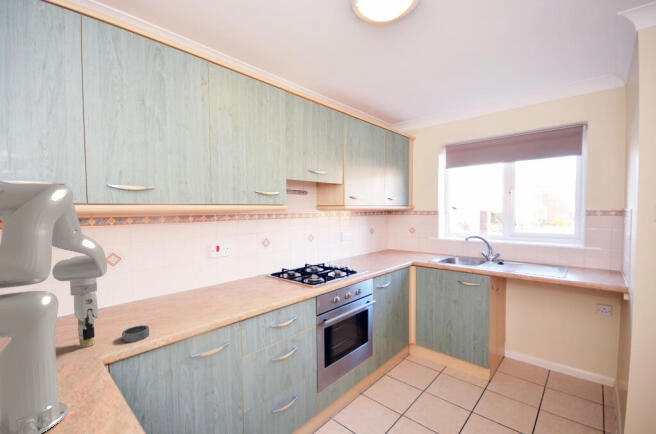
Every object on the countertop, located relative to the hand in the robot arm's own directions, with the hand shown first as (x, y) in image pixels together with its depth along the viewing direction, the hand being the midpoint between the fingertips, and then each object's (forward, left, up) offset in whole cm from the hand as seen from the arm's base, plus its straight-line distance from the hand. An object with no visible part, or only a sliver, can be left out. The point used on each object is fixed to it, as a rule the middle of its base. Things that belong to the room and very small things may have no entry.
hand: (86, 336), depth 106 cm
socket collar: (-9, -13, -3) cm, 16 cm away
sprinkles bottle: (0, 0, -4) cm, 4 cm away
